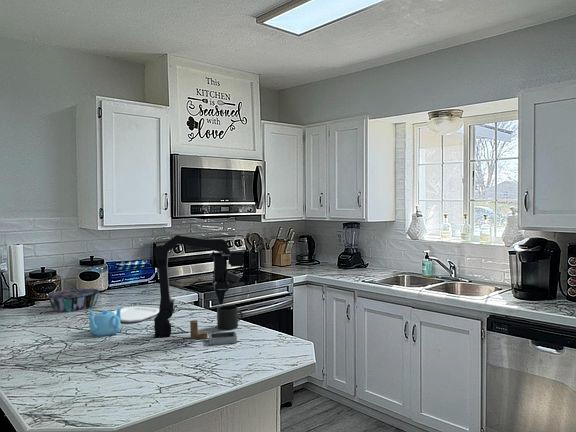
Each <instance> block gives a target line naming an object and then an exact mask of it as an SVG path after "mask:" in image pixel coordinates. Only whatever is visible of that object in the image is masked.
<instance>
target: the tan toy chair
mask: <svg viewBox="0 0 576 432" xmlns="http://www.w3.org/2000/svg"><path fill="white" fill-rule="evenodd" d="M198 322H199V321H198V320H190V322H189V324H190V325H189V326H190V327H189V328H190V340H200V339H208V331H207V330H201V331H198V330H199V327H198Z"/></svg>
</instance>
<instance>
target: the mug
mask: <svg viewBox="0 0 576 432" xmlns="http://www.w3.org/2000/svg"><path fill="white" fill-rule="evenodd" d="M238 314H240V318H239V317H238V316H239V315H238ZM243 318H244V315H243V312H242V311H241V310H238V306H236V305H221V306H217V308H216V321H217V323H216V325H217V326H216V327H217V329H219V330H225V331H228V330H235V329H237V328H238V326H239V321H241V320H242V319H243Z"/></svg>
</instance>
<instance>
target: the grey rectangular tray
mask: <svg viewBox="0 0 576 432" xmlns="http://www.w3.org/2000/svg"><path fill="white" fill-rule="evenodd" d="M237 337H238V336H237V334H236V331H226V332H225V331H224V332H213V333H212V332H211V333H208V343H209V346H215V345H228V344H229V345H230V344H237V343H238V338H237Z"/></svg>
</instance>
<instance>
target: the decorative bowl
mask: <svg viewBox="0 0 576 432" xmlns="http://www.w3.org/2000/svg"><path fill="white" fill-rule="evenodd" d="M100 292H101V290H100V289H96V288H74V289H73V288H72V289H65V290H61V291H56V292H53V293H50V294H48V295H47V298H48V300H49V302H50V305H51V307H52V309H53V310H54V311H55V312H60V313H64V311H66V313H69V311H70V312H75V310H76V311H81V310H89V309H91V308H93V307H95V306H96V305H97V302H98V298H99V296H100V295H99V294H100ZM88 308H89V309H88Z"/></svg>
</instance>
